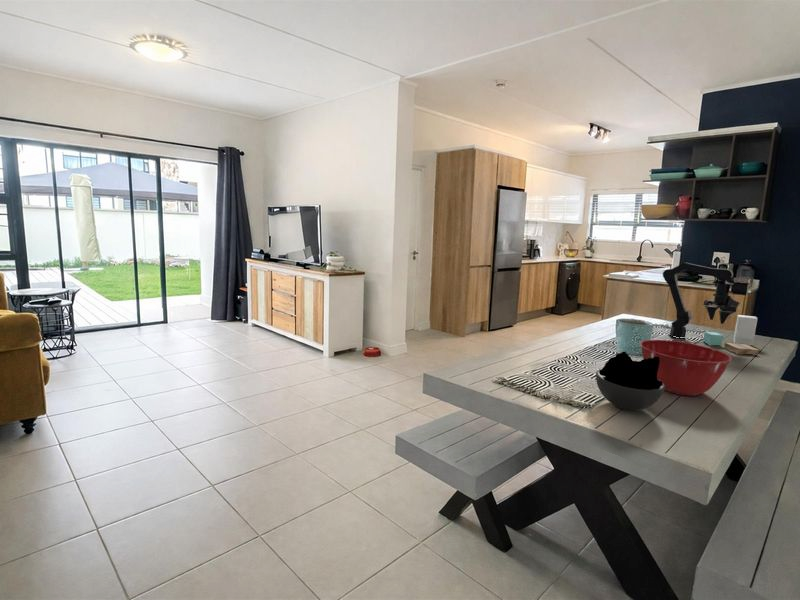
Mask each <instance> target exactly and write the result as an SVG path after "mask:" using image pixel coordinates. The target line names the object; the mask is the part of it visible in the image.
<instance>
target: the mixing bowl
mask: <svg viewBox="0 0 800 600" xmlns="http://www.w3.org/2000/svg"><path fill="white" fill-rule="evenodd" d="M639 344H640V346H641V347H640V348H641V354H642V359H648V358H654V357H659V359H660V364H659V368H658V373H657V379H658V380H660V381H662V382H663V383H664V385H665V389H664V391H665V392H668V393H672V394H675V395H679V396H687V397H688V396H690V397H694V396H698V395H701V394H704V393H706V392H708V391H709V390H711V389H712V387H714V386H715V384H716V383H717V382H718V381H719V380H720V378H721V377H722V375H723V374H724V373H725V371H726V369H727V367H728V365H730V364H729V363H730V362H731V361H732V360H733V359H732V356H731V355H729V354H728V353H725V352H723V351H720V350H717V349H714V348H710V347H707V346H704V345H703V346H702V345H700V344H699V345H698V344H695V343H694V344H693V343H689V342H684V341H683V342H682V341H675V340H667V339H665V340H664V339H648V340H643V341H641V342H640V343H639Z"/></svg>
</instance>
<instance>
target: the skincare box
mask: <svg viewBox="0 0 800 600" xmlns="http://www.w3.org/2000/svg"><path fill="white" fill-rule="evenodd" d="M735 322H736V323H735V328H734V333H733V340H732V342H733V341H734V342H733V343H739V344H746V345H753V346H754V340H755V334H756V330H757V329H756V328H757V324H758V317H757V316H755V315H754V316H753V315H752V316H751V315H743V314H738V315H737V317H736V321H735Z"/></svg>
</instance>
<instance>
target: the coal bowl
mask: <svg viewBox="0 0 800 600" xmlns="http://www.w3.org/2000/svg"><path fill="white" fill-rule="evenodd" d="M659 364H660V359H659V357H654V358H648V359H643V358H642V359H641V360H639V361H638V360H633V359H632V357H631V356H630V355H629V354H628V353H627V352H626V351H622V352H619V353H616V354H615V355H614V356H612V357H610V358H609V359H608V360H607V361H606V362H605V364H604V366H603V367H602V368H600V369H598V370H597V371H596V372H595V379H596V380H595V381H596V385H597V388H598V390H599V392H600V394H601V395H602V396H603V398H605V400H606V401H608V402H609V403H610V404H612V405H613V406H614V407H617V408H620V409H624V410H627V411H640V410H644V409H647V408H649V407H652V406H653V405H654V404H655V403H656V402H658V401H659V399H661V397H662V396H663V394H664V391H665V390H664V389H665V385H664V383H663V382H662V381H660V380H658V379H657V373H658V368H659Z"/></svg>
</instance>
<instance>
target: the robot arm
mask: <svg viewBox="0 0 800 600" xmlns="http://www.w3.org/2000/svg"><path fill="white" fill-rule="evenodd" d="M684 271H685V272H686V271H690V272H694V273H697V274H698V273H699V274H702V275H708V276H711V277H713V278H715V281H713V282H712V284H716V288H715V292H714V293H712V296H713V297H714V298H713V300H712V299H711V300H710V299H706V300H704V301H703V306H704V307H705V309H706V312H707V314H708V317H709V320H710V321H713V320H714V317H715V314H716V311H717V310H718V314H719V321H720V324H721V325H723V324H725V322H726V320H728V317H729V316H730V315H732V314H735V313H737V310H738V306H739V305H740V302H739V301H737V300H734V299H733V298H732V296H731V295H730V293H732V295H737V296H745V297H747V296H748V293H749V284H750V283H749V282H747V281H743V282H742V281H737V280H736V279H735V277H734V271H733V270H731V269H730V268H720V267H719V268H715V267H714V268H713V267H709V266H704V265H699V264H694V263H689V262H683V263H681V264H679V265H677V266H675V267H672V268H668V269H665V270H664V271H663V272H662V278H663V279H664V281H665V282H666V283H667V285H668V287H669V289H670V294H671V297H672V299H673V303H674V305H675V306H674V307H675V309H676V311H675V312H676V314H675V316H676V320H674V321H672V322H671V326H670V332H669V334H670V335H671V336H676V337H685V338H686V334H687V327H686V325H689V324H690V323H691V322H692V318H693V316H692V313H691V310H687V308H686V306H685V304H684V301H683V296H682V294H681V290H680V287H679V284H678V275H679V274H682V273H683V272H684ZM671 336H670V337H671Z"/></svg>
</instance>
